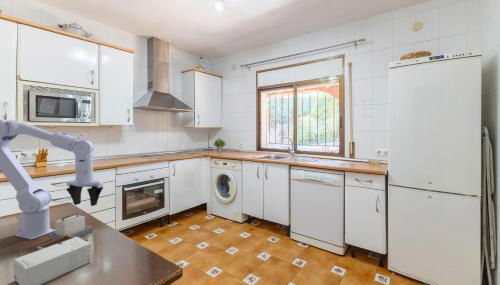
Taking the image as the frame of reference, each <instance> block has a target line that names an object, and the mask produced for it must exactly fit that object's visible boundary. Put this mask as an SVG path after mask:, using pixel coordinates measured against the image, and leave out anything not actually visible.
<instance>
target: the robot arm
mask: <svg viewBox="0 0 500 285" xmlns="http://www.w3.org/2000/svg"><path fill="white" fill-rule="evenodd" d="M19 135H26V136H31V137H34V138H37V139H40V140H41V139H42V140H44V141H48V142H49V143H50V145H51V146H52V147H54V148H58V149H62V150H65V151H67V152H72V153H73V154H74V159H75V160H74V163H75V164H74V165H75V166H74V169H75V170H74V171H75V180H68V181H66V187H68V188H66V192H68V194H69V196H70V197H71V199H72V202H73V204H74V206H77V205H79V204H81V203H82V202H81V201H82V190H83V188H87V189H86V191H87V194H88V195H89V202H90V206H91V207H94V206H96V205H97V204H98V200H99V198H100V194H101V193H102V190H103V189H104V183H103V181H98V180H94V159H93V152H94V149H95V145H94V143H93V142H92V141H90V140H88V139H82V137H79V136H78V137H77V136H73V135H70V134H69V133H68V132H67V131H66V132H65V131H63V132H60V131H59V132H56V133H53V132H51V131H48V130H45V129H42V128H40V127H37V126H34V125H32V124H30V123H25V122H21V121H17V120H13V119H0V172H1V173H2V174H3V175H4V177H5V178H6V179H7V181H8V182H9V183H10V184H11V186H12V187H13V188H14V190H15V191H16V193H15V194H16V195H15V199H16V200H17V202H18V208H19V210H20V211H21V212H20V214H19V215H18V216H17V217H18V218H17V224H18V225H17V227H18V233H17V234H15V237H19V238H24V239H28V240H34V239H37V238H40V237H42V236H45V235H47V234H48V235H49V234H52V233H55V228H54V229H53V228H51V226H50V224H51V223H50V206H49V203H51V201H52V194H51V193H50V192H49V191H47V190H45V189H44V188H43V187H42V186H41V185H39V184H37V183H35V182H34V180H33V179H32V178H31V176H30V174H28V172H27V171H26V170H25V168H24V167H23V166H22V164H21V163H20V161H19V160H18V158H16V156H15V155H14V154H13V152H12V151H11V149H10V148H9V147H10V145H11V143H12V142H13V141H14V140H15V139H16V138H17V137H18V136H19Z"/></svg>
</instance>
